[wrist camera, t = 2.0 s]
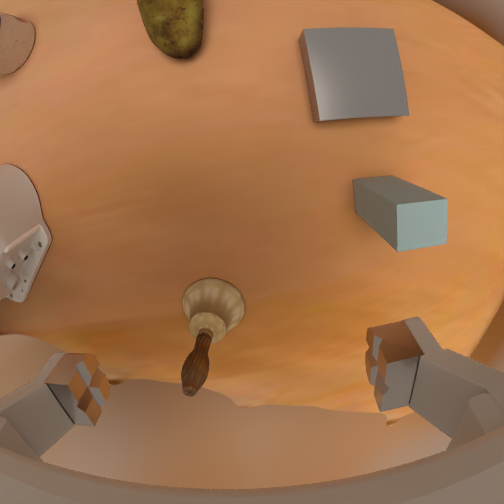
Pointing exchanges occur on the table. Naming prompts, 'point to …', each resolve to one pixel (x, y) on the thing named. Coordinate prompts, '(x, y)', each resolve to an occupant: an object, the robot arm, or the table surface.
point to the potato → (173, 25)
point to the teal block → (401, 212)
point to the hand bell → (208, 325)
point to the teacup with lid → (14, 42)
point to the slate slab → (353, 73)
